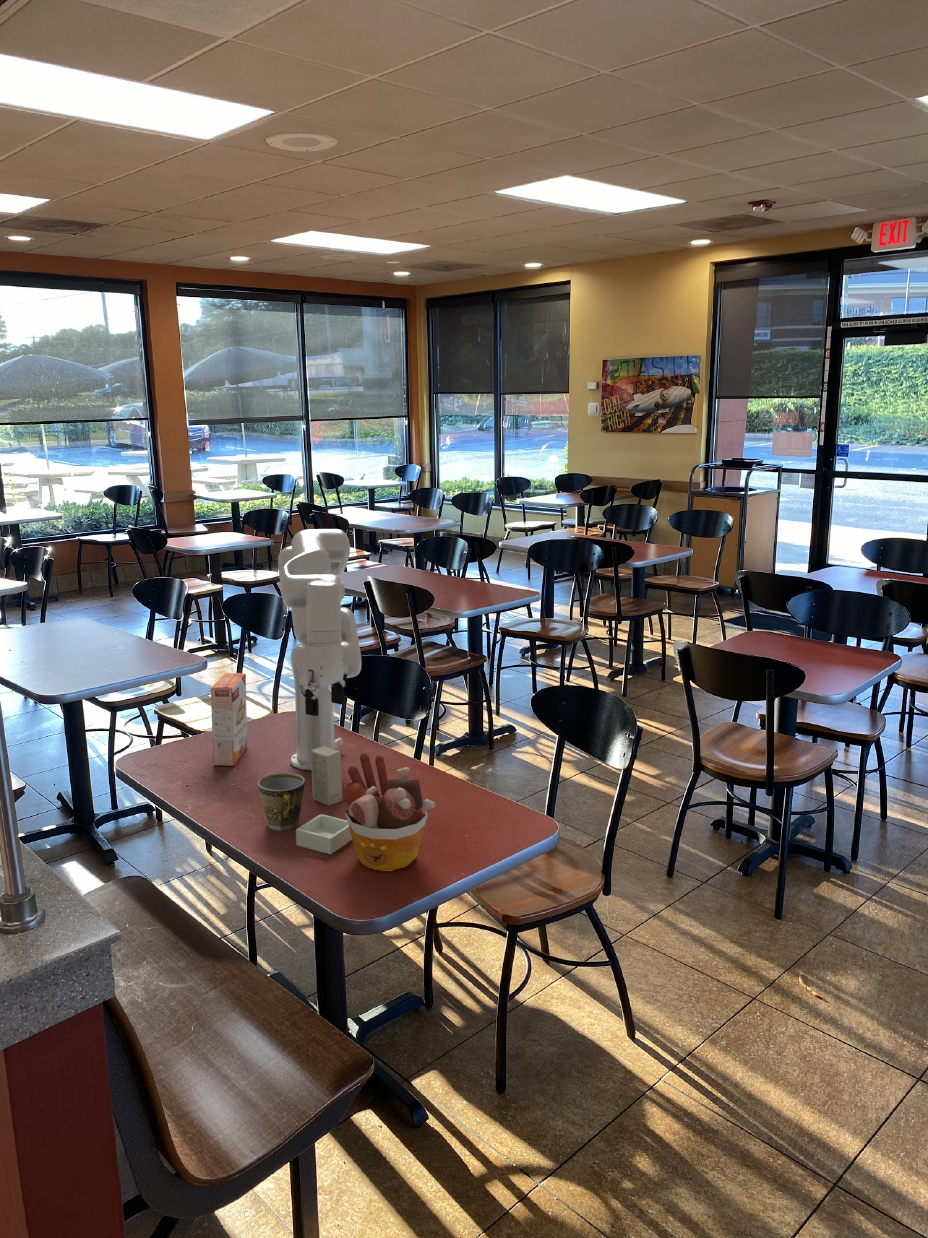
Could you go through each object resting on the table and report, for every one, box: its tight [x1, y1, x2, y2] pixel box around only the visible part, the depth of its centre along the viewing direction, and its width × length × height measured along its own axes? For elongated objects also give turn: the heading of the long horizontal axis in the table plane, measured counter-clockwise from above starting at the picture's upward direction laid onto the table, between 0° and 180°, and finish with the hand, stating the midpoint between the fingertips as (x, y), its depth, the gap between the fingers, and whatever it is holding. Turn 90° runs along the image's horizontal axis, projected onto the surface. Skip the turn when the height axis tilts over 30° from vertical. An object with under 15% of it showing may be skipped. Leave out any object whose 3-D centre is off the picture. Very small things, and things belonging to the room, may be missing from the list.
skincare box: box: [311, 746, 343, 806], centre depth 214 cm, size 6×4×12 cm
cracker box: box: [210, 672, 248, 767], centre depth 238 cm, size 14×6×21 cm, turn 179°
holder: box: [295, 813, 353, 855], centre depth 194 cm, size 9×9×4 cm
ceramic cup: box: [257, 772, 306, 832], centre depth 199 cm, size 13×10×10 cm
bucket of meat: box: [343, 752, 436, 871], centre depth 185 cm, size 20×16×20 cm
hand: (325, 709), depth 210 cm, fingers open, 9 cm apart
